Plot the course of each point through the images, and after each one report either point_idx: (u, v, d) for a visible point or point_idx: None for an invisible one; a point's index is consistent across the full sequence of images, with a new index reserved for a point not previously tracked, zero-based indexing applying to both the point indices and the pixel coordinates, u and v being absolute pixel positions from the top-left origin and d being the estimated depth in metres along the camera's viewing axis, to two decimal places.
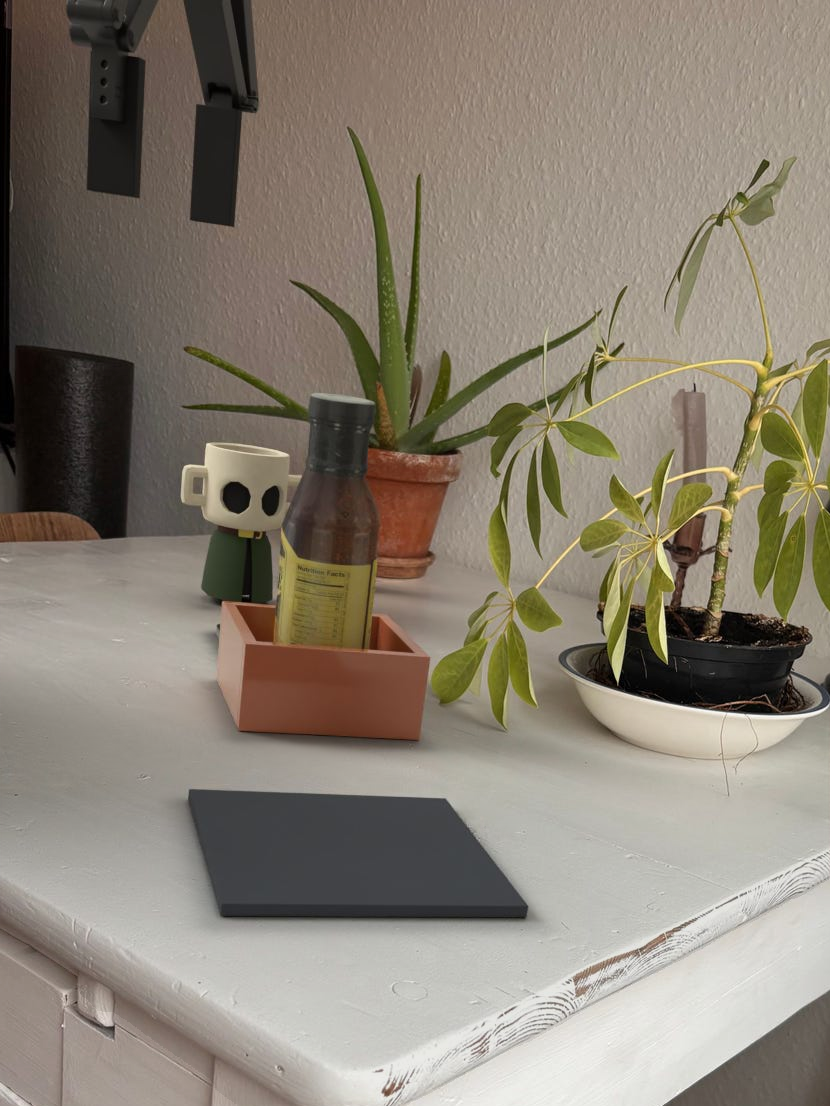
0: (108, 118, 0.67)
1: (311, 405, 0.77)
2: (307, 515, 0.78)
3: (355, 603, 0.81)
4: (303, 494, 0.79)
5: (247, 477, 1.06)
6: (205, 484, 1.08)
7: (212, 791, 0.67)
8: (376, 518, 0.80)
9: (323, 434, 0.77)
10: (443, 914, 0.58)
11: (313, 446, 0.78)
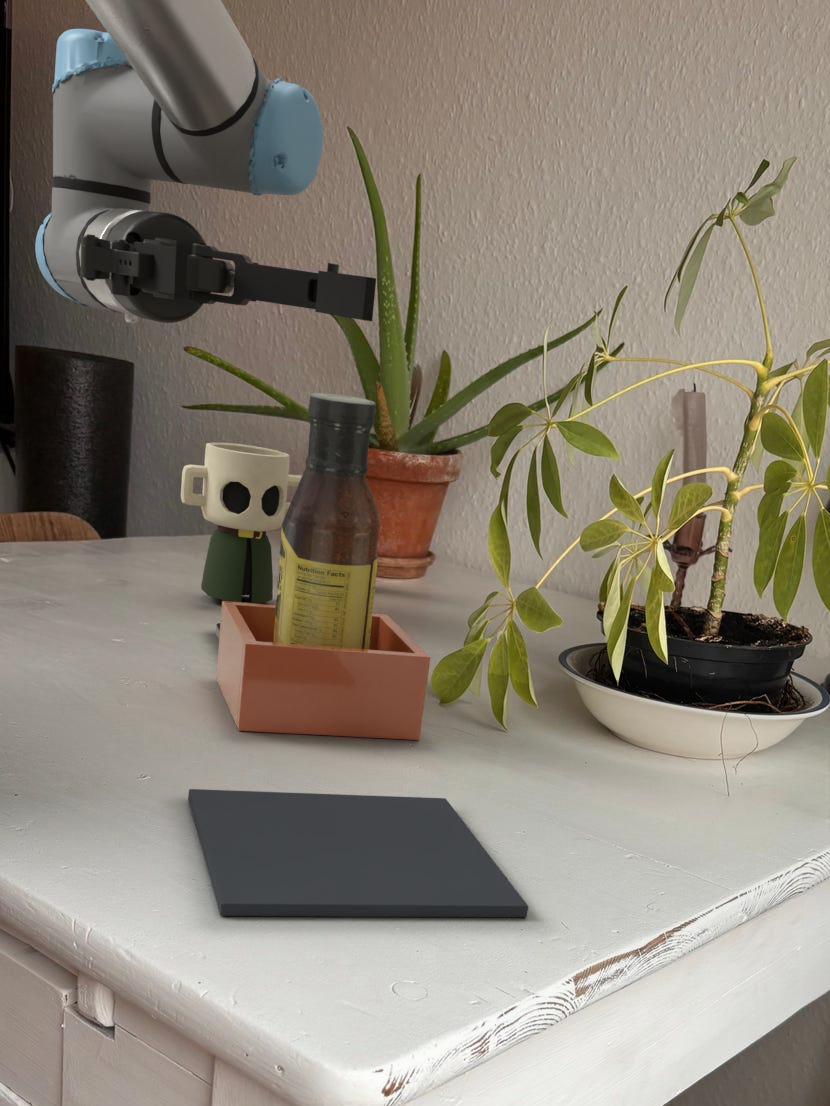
0: None
1: (311, 405, 0.77)
2: (307, 515, 0.78)
3: (356, 604, 0.81)
4: (304, 494, 0.79)
5: (247, 477, 1.06)
6: (205, 484, 1.08)
7: (212, 791, 0.67)
8: (376, 518, 0.80)
9: (323, 434, 0.77)
10: (443, 914, 0.58)
11: (313, 446, 0.78)
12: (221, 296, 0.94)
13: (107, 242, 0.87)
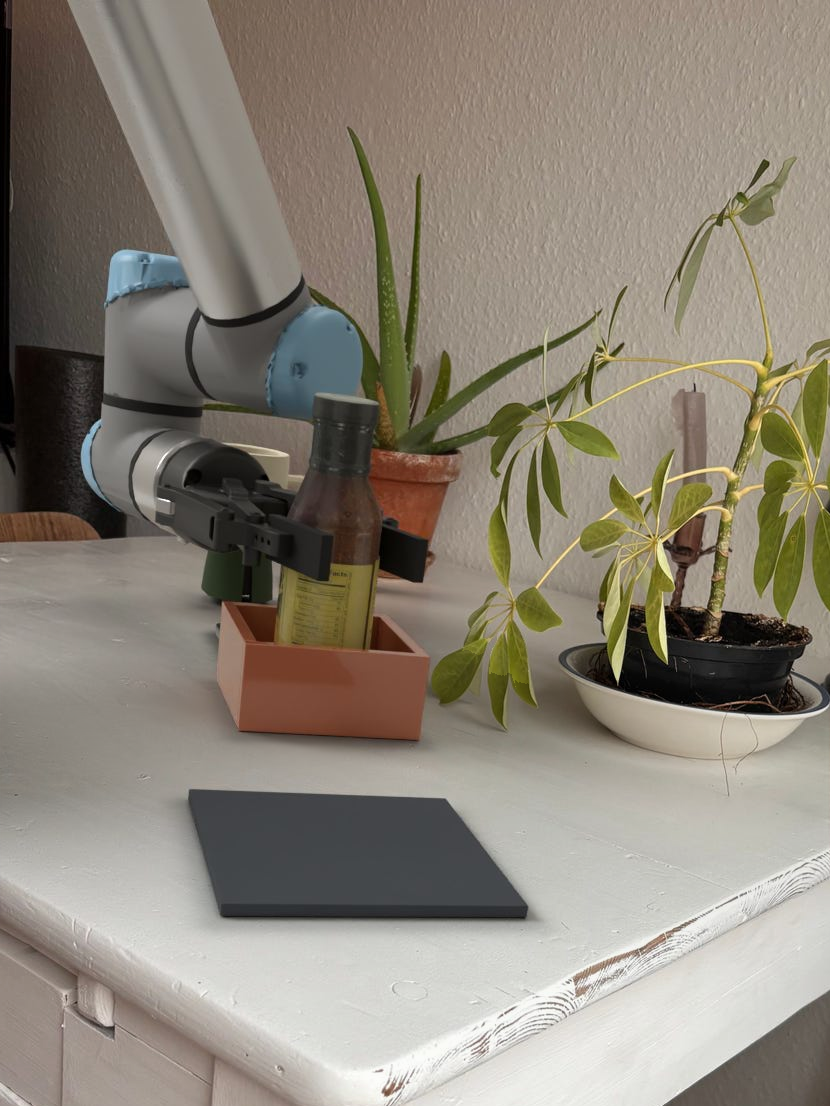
0: None
1: (315, 405, 0.77)
2: (310, 514, 0.78)
3: (357, 603, 0.81)
4: (306, 493, 0.79)
5: None
6: None
7: (212, 791, 0.67)
8: (379, 518, 0.80)
9: (326, 434, 0.78)
10: (443, 914, 0.58)
11: (317, 445, 0.78)
12: None
13: (205, 499, 0.83)
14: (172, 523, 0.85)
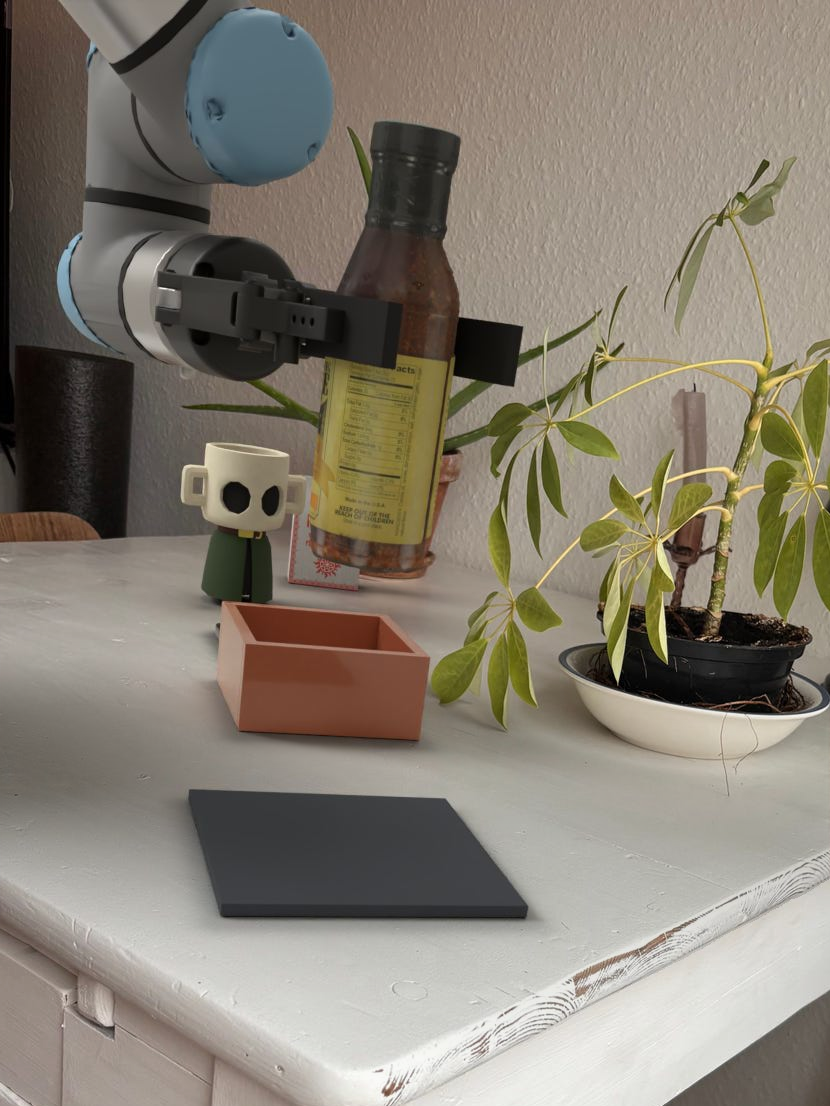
0: None
1: (376, 133, 0.57)
2: (368, 284, 0.58)
3: (427, 414, 0.61)
4: (362, 259, 0.59)
5: (247, 477, 1.06)
6: (205, 484, 1.08)
7: (212, 791, 0.67)
8: (457, 298, 0.60)
9: (391, 173, 0.57)
10: (443, 914, 0.58)
11: (377, 192, 0.58)
12: None
13: None
14: (178, 319, 0.65)
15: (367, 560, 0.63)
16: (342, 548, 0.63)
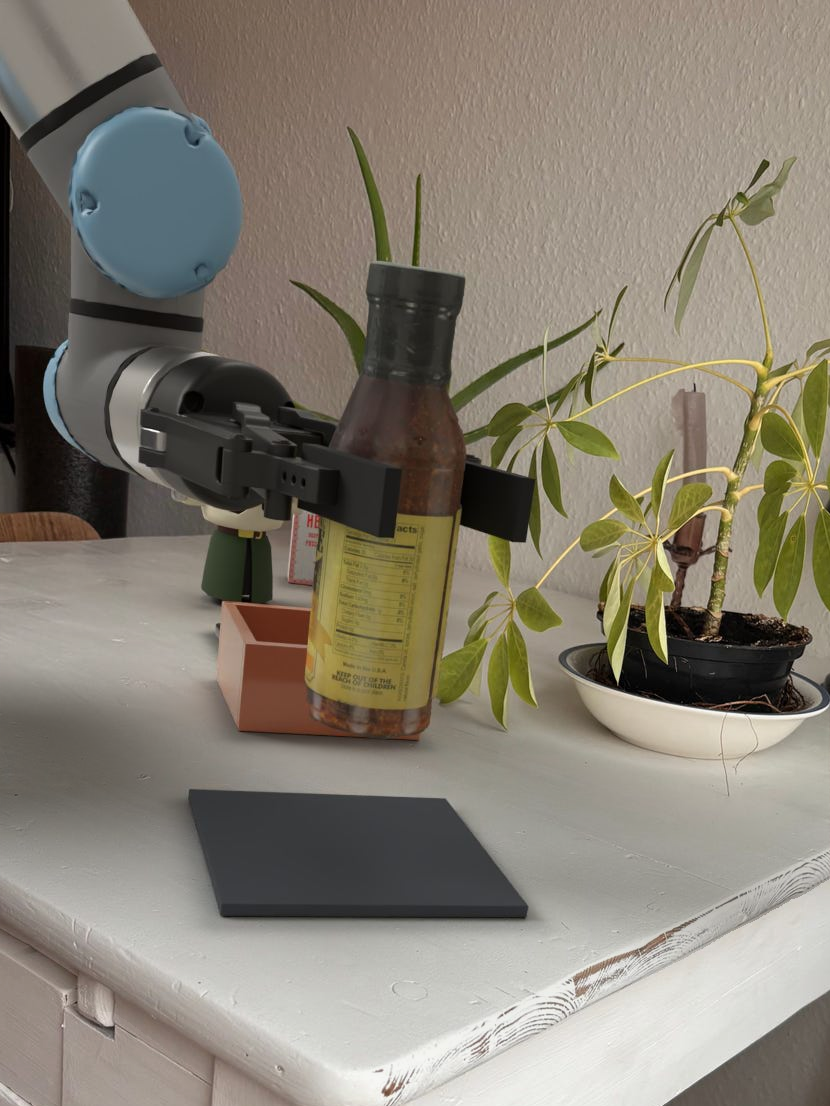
0: None
1: (372, 276, 0.52)
2: (364, 440, 0.53)
3: (431, 573, 0.56)
4: (358, 410, 0.54)
5: None
6: None
7: (212, 791, 0.67)
8: (463, 448, 0.55)
9: (389, 320, 0.52)
10: (443, 914, 0.58)
11: (374, 339, 0.53)
12: None
13: None
14: (162, 463, 0.60)
15: (367, 727, 0.58)
16: (341, 714, 0.58)
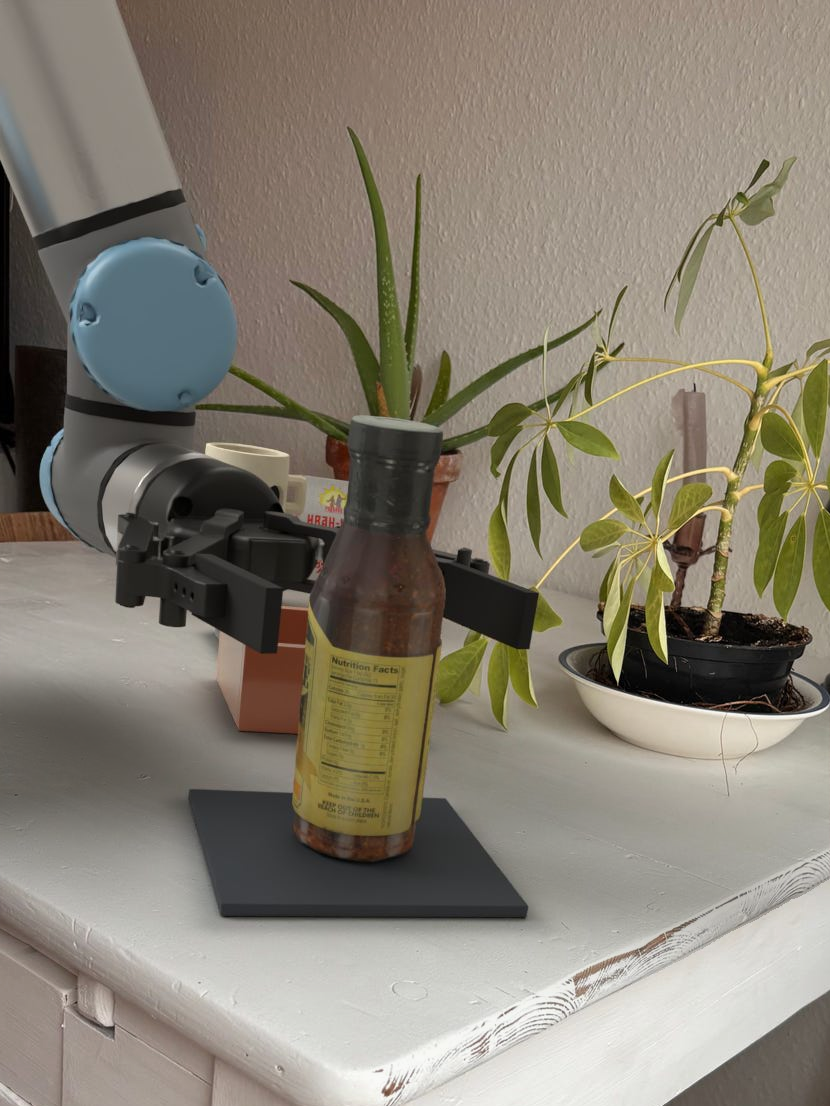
0: None
1: (353, 433, 0.54)
2: (346, 588, 0.55)
3: (412, 708, 0.58)
4: (341, 557, 0.56)
5: None
6: None
7: (212, 791, 0.67)
8: (442, 590, 0.57)
9: (369, 475, 0.55)
10: (443, 914, 0.58)
11: (355, 491, 0.55)
12: (303, 584, 0.67)
13: (151, 535, 0.60)
14: None
15: (352, 852, 0.60)
16: (327, 840, 0.60)
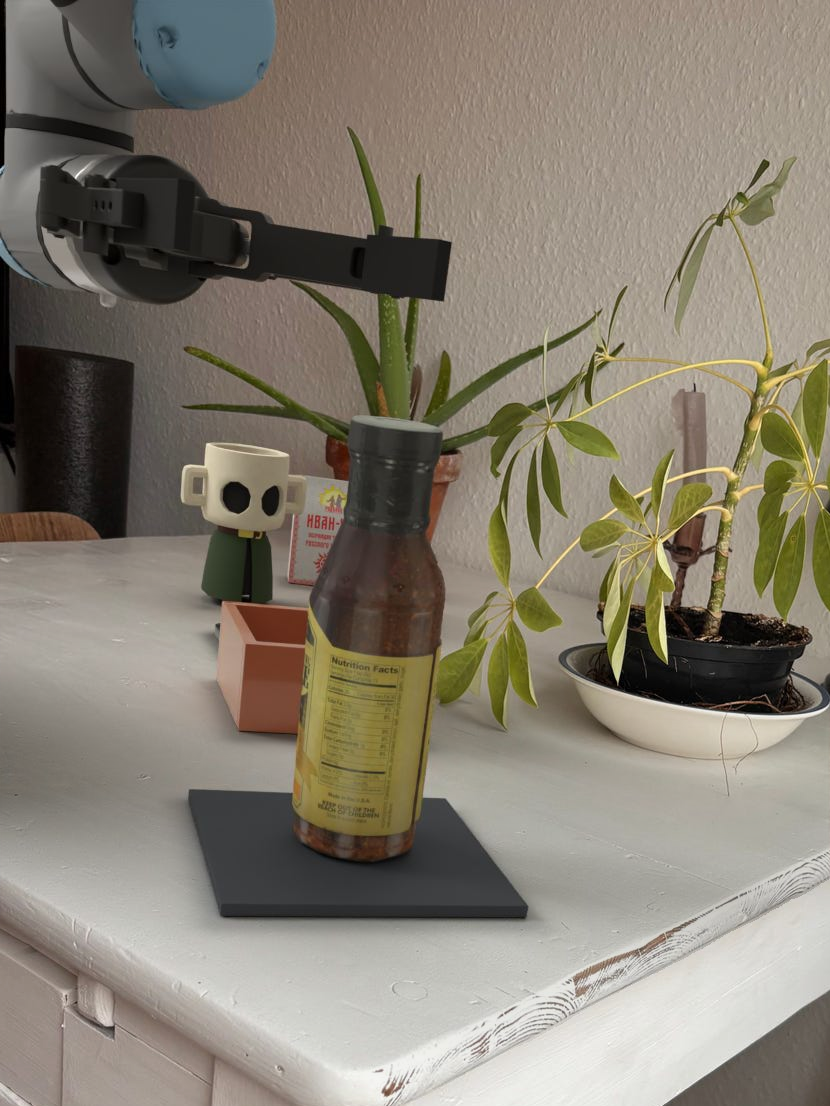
0: None
1: (353, 433, 0.54)
2: (346, 588, 0.55)
3: (412, 708, 0.58)
4: (341, 557, 0.56)
5: (247, 477, 1.06)
6: (205, 484, 1.08)
7: (212, 791, 0.67)
8: (442, 590, 0.57)
9: (369, 475, 0.55)
10: (443, 914, 0.58)
11: (355, 491, 0.55)
12: (232, 268, 0.69)
13: (78, 183, 0.62)
14: None
15: (352, 852, 0.60)
16: (327, 840, 0.60)
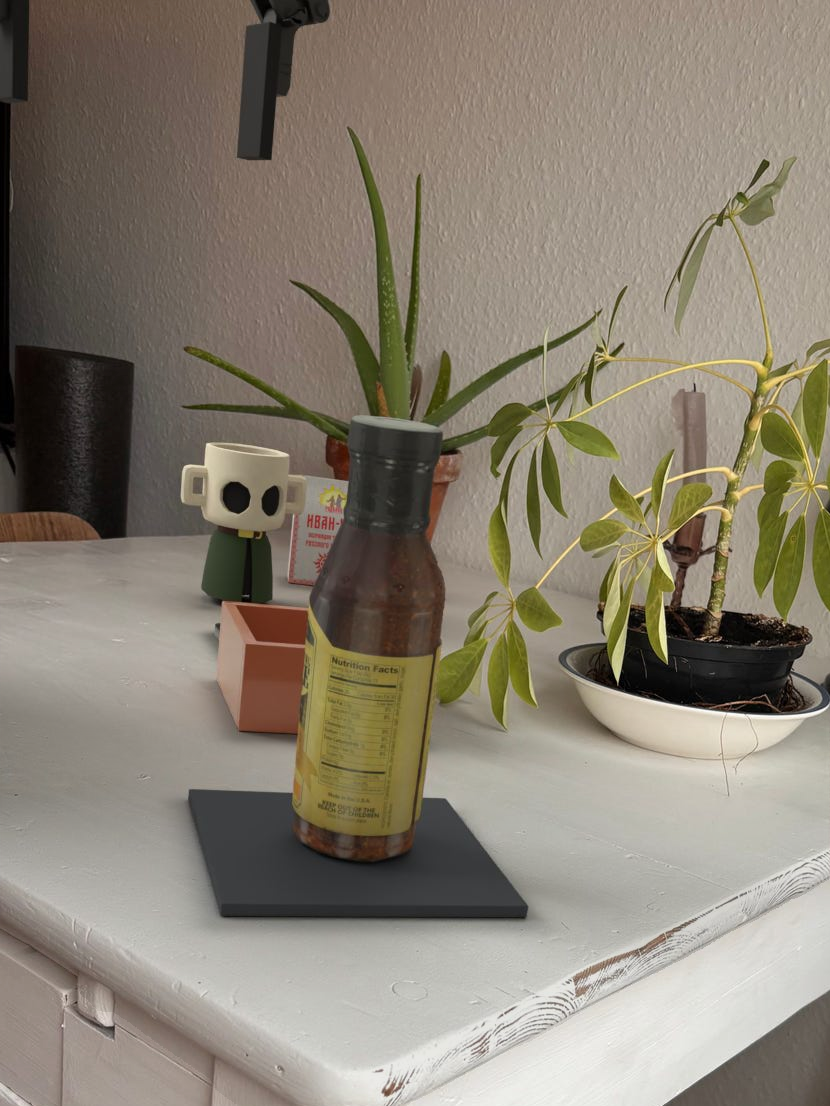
0: None
1: (353, 433, 0.54)
2: (346, 588, 0.55)
3: (412, 708, 0.58)
4: (341, 557, 0.56)
5: (247, 477, 1.06)
6: (205, 484, 1.08)
7: (212, 791, 0.67)
8: (442, 590, 0.57)
9: (369, 475, 0.55)
10: (443, 914, 0.58)
11: (355, 491, 0.55)
12: None
13: None
14: None
15: (352, 852, 0.60)
16: (327, 840, 0.60)
